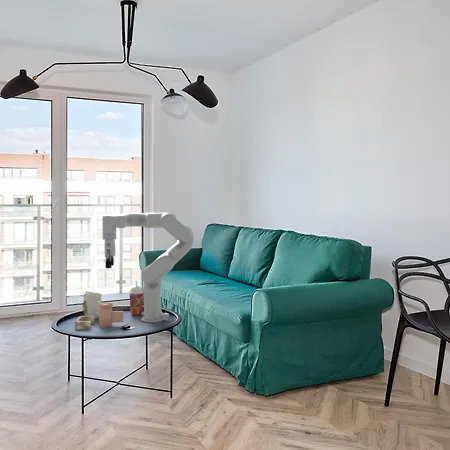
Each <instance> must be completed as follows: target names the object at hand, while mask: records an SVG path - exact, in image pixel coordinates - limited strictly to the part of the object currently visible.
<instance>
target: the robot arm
mask: <svg viewBox="0 0 450 450" xmlns="http://www.w3.org/2000/svg"><path fill="white" fill-rule="evenodd" d="M101 223H102V240H104V257H105V269H112V266H114V264H115V258H114V257H115V256H116V240H117V228H118V229H124V228H125V229H126V228H130V227H138V228H139V227H141V228H142V227H143V228H144V229H145V228H146V229H161V228H162V229H164V230H165V231H166V232H167V233H168V234H170V235H171V236H172V237H173V238H174V239H175V240H177V241H176V243H175V244H173V245H172V246H171V247H170V248H168V249H167V250H166V251H165V252H163V253H162V254H160V256H158V257H157V258H156V259H155V260H154V261H153V262H152V263H151V264H148V265H147V266H146V267H145V268H144V269H143V271H142V272H141V280H142V281H143V291H144V292H143V316H142V317H141V318H140V320H141V321H142V322H144V323H159V322H162V321H163V320H165V319H164V317H165V318H168V317H170V316H169V315H170V313H167V312H163V311H162V278H163V277H164V276H166V275H167V274H168V273H169V272H170V271H171V270H172V269H173V268H174V266H175V265H176V264H177V263H178V262H179V261H180V260H181V259H183V257H185V255H186V254H187V253H189V251H190V250H191V249H192V246H193V244H194V233H193V230H192V229H191V227H190V226H188V225H184V224H183V223H181V222H180V221H179V220H178V219H177V217H176V214H174V213H172V212H145V213H144V212H143V213H122V214H117V215H115V214H104V215H102V222H101Z"/></svg>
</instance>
